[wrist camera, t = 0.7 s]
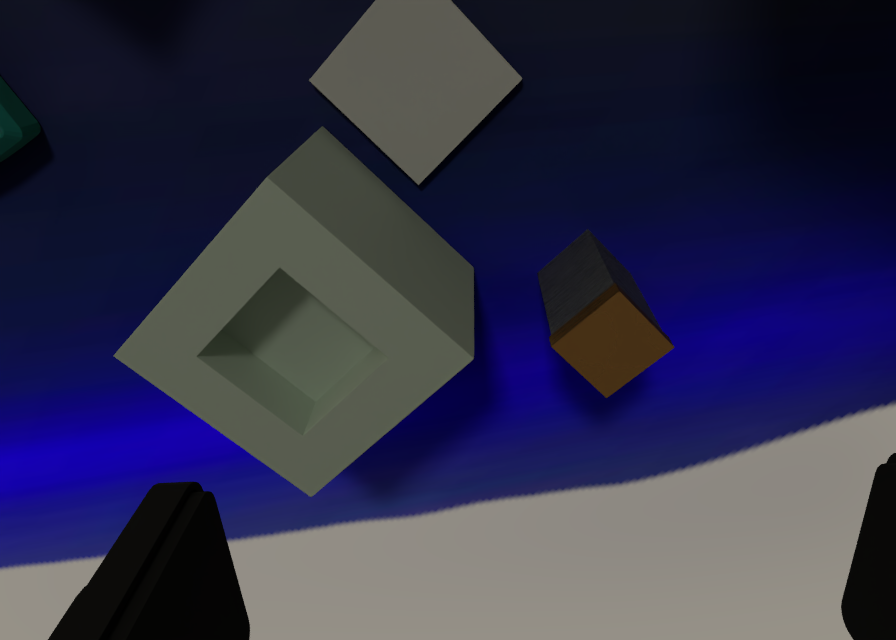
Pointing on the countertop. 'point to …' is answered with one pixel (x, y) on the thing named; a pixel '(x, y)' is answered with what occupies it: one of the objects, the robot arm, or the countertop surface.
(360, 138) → the countertop surface
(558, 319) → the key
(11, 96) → the digital multimeter
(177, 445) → the countertop surface
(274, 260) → the grey hollow block
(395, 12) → the mat
